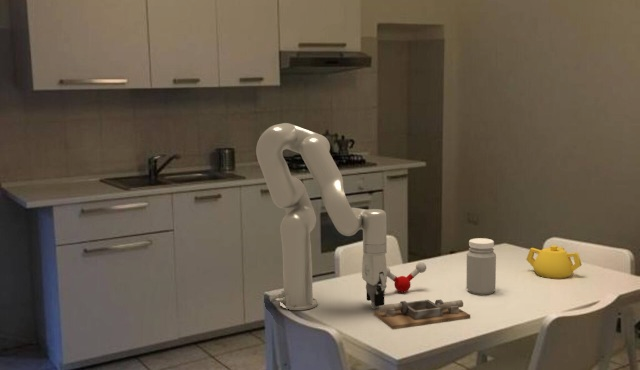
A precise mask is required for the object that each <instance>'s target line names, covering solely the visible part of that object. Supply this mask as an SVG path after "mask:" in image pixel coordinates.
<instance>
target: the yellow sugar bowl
mask: <svg viewBox="0 0 640 370" xmlns="http://www.w3.org/2000/svg"><path fill="white" fill-rule="evenodd" d="M535 254H537V256H536V257H535V258H534V256H535ZM571 257H573V261H572V259H571ZM526 261H527V262H528V263H529V265H531V267H532V269H533V271H534V273H535V274H536V275H537V276H539V277H542V278H546V279H557V280H558V279H559V280H560V279H566V278H569V277H571V275H572V274H573V273H574V272H575V271H576V270H577V269H578V268H580V267H581V266H582V261H581V259H580V254H579V252H567V250H565V248H564V247H562V246H558V245H556V244H552V245H549V247H545V248H542V249H538V248H534V247H531V248H530V249H529V250H528V254H527V256H526ZM573 262H574V263H573Z"/></svg>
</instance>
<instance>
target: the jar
mask: <svg viewBox="0 0 640 370" xmlns="http://www.w3.org/2000/svg"><path fill="white" fill-rule="evenodd" d="M468 246H469V248H468V250H469V251H468V252H467V253H466V285H465V286H466V290H468V292H469V293H470V294H473V295H478V296H486V295H491V294H493V292H495V290H496V283H497V281H496V278H497V277H496V275H497V273H496V271H497V269H496V267H497V255H496V253H495V252H494V251H495V249H494V247H495V241H494V240H493V239H489V238H486V237H483V238H481V237H480V238H479V237H477V238H476V237H475V238H471V239H469V241H468Z"/></svg>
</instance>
